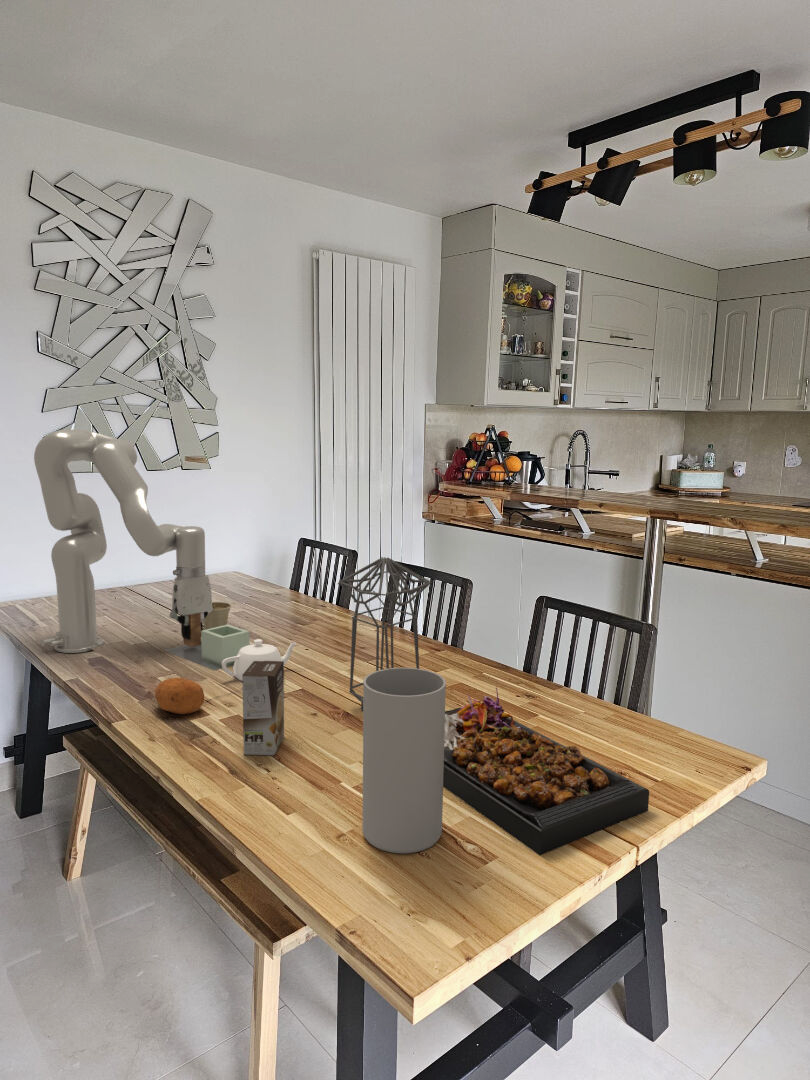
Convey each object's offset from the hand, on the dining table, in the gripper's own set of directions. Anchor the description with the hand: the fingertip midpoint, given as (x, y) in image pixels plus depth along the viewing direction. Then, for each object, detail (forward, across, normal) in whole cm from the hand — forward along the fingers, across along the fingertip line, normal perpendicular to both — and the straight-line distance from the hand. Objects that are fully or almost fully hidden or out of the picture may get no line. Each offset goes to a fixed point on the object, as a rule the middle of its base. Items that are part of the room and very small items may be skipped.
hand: (192, 636), depth 204 cm
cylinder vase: (+3, -29, -103) cm, 107 cm away
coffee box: (+4, -24, -62) cm, 67 cm away
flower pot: (+4, +14, +10) cm, 18 cm away
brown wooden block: (+2, 0, 0) cm, 2 cm away
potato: (+4, -26, -34) cm, 43 cm away
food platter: (+4, -1, -104) cm, 104 cm away
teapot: (+4, -1, -31) cm, 32 cm away
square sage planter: (+3, 0, -15) cm, 16 cm away
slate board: (+4, 0, -8) cm, 9 cm away
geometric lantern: (+3, +5, -67) cm, 68 cm away
